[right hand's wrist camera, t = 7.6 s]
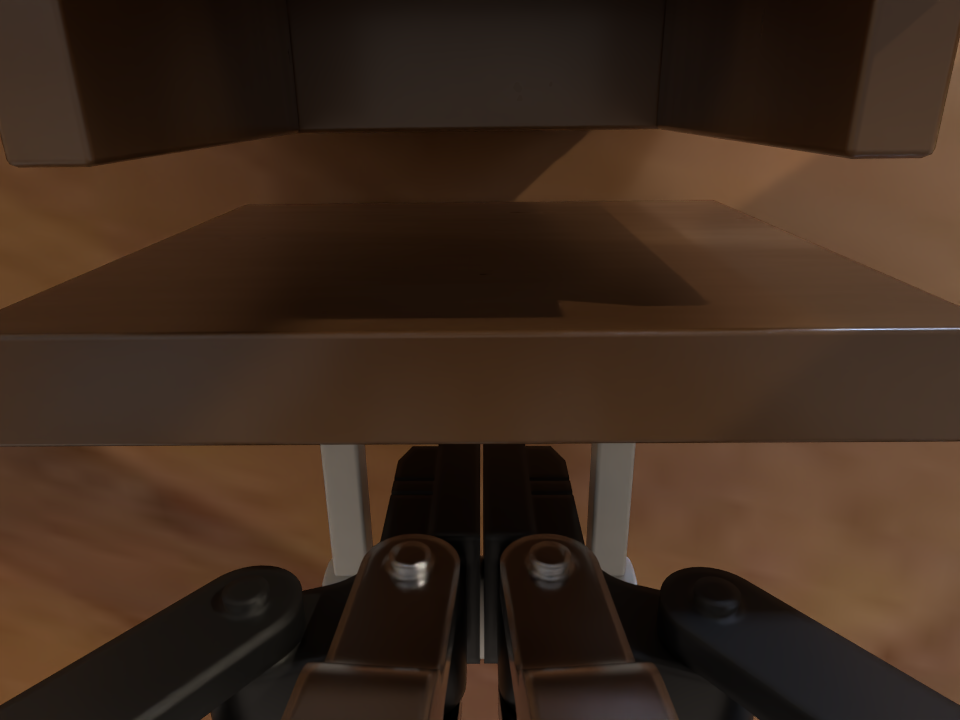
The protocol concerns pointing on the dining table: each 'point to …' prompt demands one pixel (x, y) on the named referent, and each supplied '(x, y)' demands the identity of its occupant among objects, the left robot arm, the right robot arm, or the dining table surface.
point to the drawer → (476, 238)
